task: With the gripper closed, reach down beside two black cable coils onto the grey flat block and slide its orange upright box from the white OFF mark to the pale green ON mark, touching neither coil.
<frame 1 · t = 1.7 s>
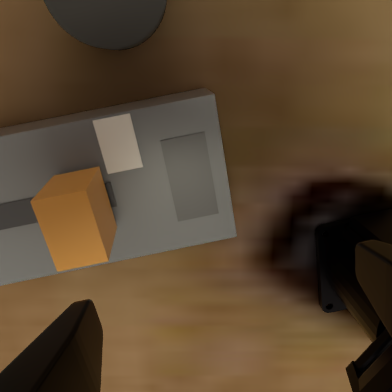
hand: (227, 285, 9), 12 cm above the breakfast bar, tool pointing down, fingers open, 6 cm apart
orange upright box: (79, 216, 15), point 5 cm above the breakfast bar, slide at 0.0 cm
grey flat block: (55, 184, 20), on the breakfast bar
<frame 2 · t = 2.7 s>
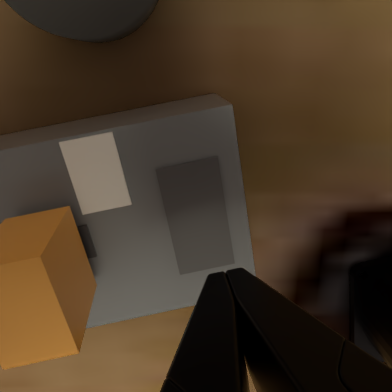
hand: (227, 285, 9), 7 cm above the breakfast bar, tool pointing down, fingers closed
orange upright box: (39, 280, 10), point 5 cm above the breakfast bar, slide at 0.0 cm
grey flat block: (19, 218, 15), on the breakfast bar
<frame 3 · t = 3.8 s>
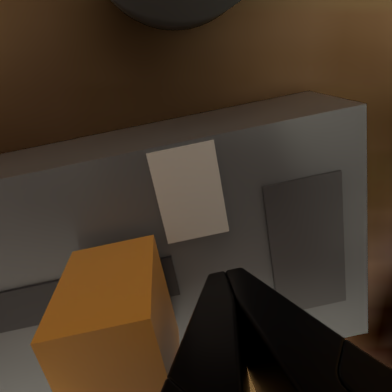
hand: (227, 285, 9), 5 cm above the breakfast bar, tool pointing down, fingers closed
orange upright box: (123, 335, 8), point 5 cm above the breakfast bar, slide at 0.1 cm, touching gripper
grey flat block: (70, 240, 13), on the breakfast bar
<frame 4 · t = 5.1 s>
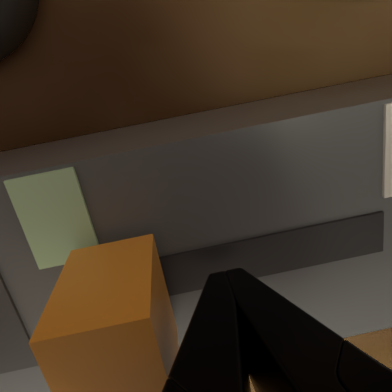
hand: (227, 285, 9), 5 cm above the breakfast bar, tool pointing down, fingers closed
orange upright box: (121, 334, 8), point 5 cm above the breakfast bar, slide at 5.8 cm, touching gripper
grey flat block: (225, 207, 13), on the breakfast bar
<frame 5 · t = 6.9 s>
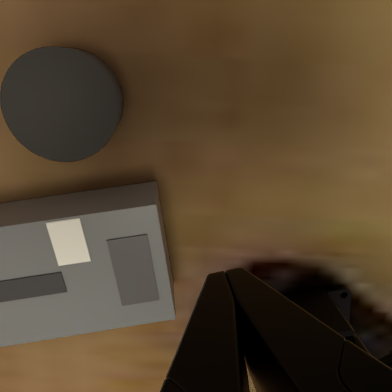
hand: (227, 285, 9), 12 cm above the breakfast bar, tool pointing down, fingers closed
grey flat block: (16, 256, 21), on the breakfast bar
coil a: (74, 99, 19), on the breakfast bar
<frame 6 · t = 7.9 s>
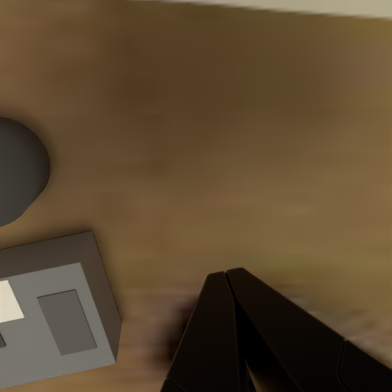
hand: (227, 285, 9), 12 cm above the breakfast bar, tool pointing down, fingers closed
coil a: (2, 162, 19), on the breakfast bar
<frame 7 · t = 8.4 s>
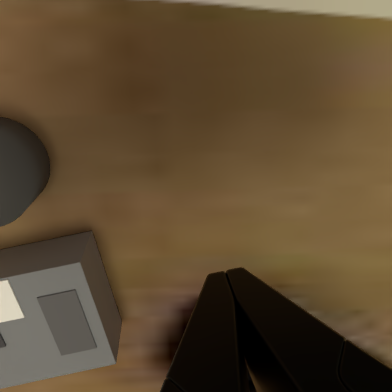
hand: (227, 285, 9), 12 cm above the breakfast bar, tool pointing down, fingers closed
coil a: (2, 162, 19), on the breakfast bar
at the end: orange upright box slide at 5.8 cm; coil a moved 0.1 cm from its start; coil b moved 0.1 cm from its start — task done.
